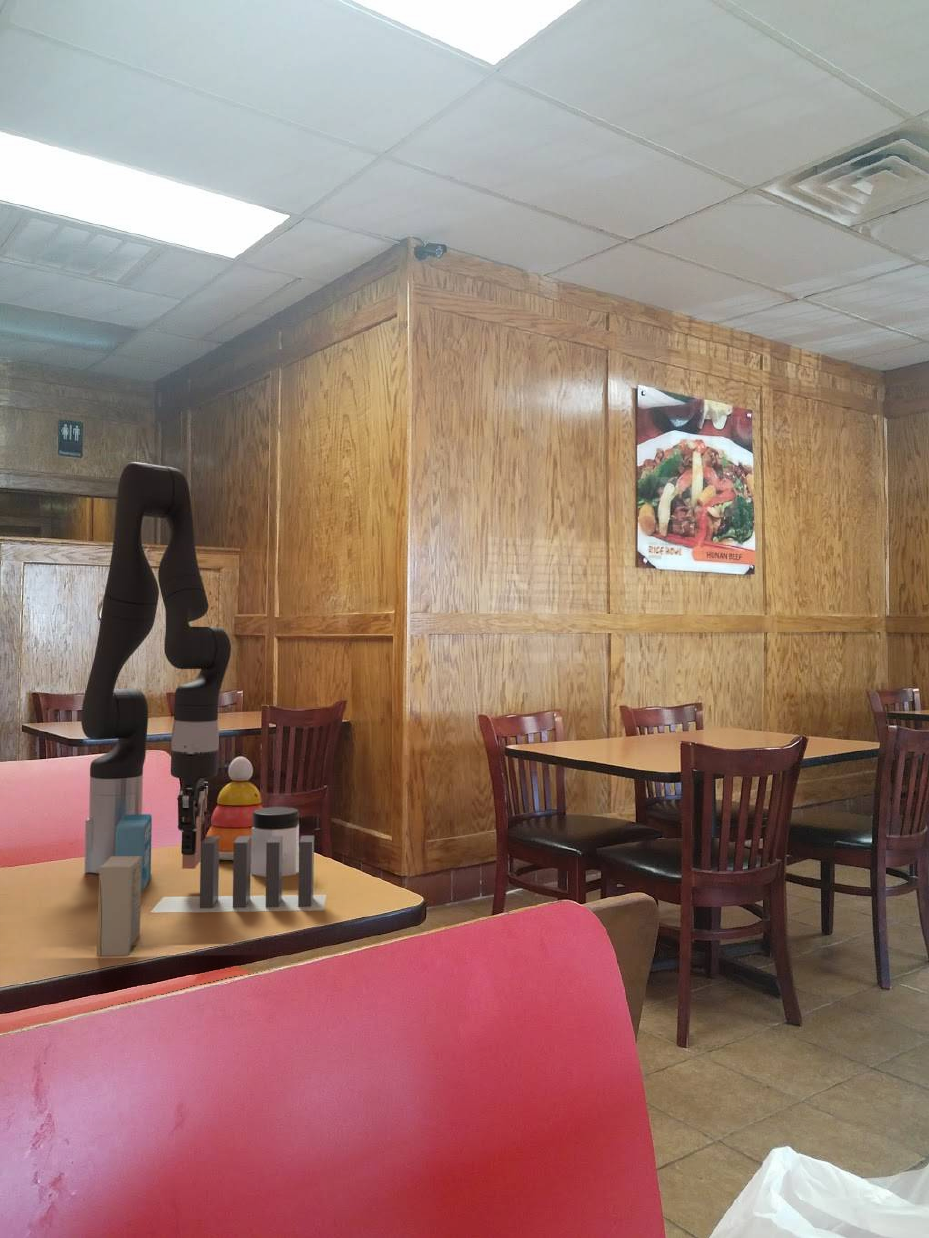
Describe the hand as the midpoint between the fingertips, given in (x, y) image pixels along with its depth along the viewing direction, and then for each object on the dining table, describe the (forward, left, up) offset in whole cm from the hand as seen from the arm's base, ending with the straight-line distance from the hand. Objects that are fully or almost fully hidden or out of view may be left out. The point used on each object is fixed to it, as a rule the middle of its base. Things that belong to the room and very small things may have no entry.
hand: (191, 849), depth 159 cm
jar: (+12, +13, -8) cm, 19 cm away
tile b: (+4, -8, -7) cm, 12 cm away
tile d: (+14, -8, -7) cm, 18 cm away
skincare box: (-5, -26, -8) cm, 28 cm away
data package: (-11, +6, -8) cm, 15 cm away
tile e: (+19, -8, -7) cm, 22 cm away
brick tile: (0, 0, -2) cm, 2 cm away
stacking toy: (+3, +31, -8) cm, 32 cm away
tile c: (+9, -8, -7) cm, 14 cm away
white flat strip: (+9, -8, -8) cm, 15 cm away
